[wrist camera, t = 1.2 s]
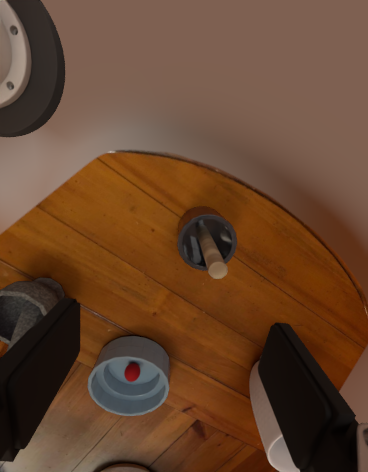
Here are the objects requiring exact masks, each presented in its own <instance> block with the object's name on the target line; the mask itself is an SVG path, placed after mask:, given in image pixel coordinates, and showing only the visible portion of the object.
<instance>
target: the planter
mask: <svg viewBox="0 0 368 472" xmlns="http://www.w3.org/2000/svg"><path fill="white" fill-rule="evenodd" d="M101 472H150V471H149V470H148V469H146V468H144V467H142V466H139V465H135V464H128V463H123V464H116V465H112V466H109V467H107V468H105V469H104V470H103V471H101Z"/></svg>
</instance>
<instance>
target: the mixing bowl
mask: <svg viewBox="0 0 368 472" xmlns="http://www.w3.org/2000/svg"><path fill="white" fill-rule="evenodd" d="M131 363H136V364H138V365H139V367H140V376H139V377H138V379H137V380H136V381H133V382H129V381H127V380H126V378H125V376H124V372H125V369H126V367H127V366H128V365H129V364H131ZM169 383H170V361H169V357H168V355H167V353H166V352H165V350H164V349H163V348H162V347H161V346H160V345H158V344H157V343H156V342H154V341H152V340H149V339H147V338H144V337H137V336H128V337H121V338H118V339H115V340H113V341H111V342H110V343H108V344H107V345H106V346H105V347H103V349H102V350H101V352H100V354H99V356H98V358H97V360H96V362H95V364H94V367H93V369H92V371H91V373H90V376H89V378H88V390H89V393H90V396H91V397H92V399H93V400H94V401H95V402H96V404H98V405H99V406H100V407H102V408H103V409H105V410H107V411H109V412H112V413H115V414H118V415H125V416H135V415H143V414H146V413H149V412H151V411H153V410H155V409H156V408H158V407H159V406H161V405H162V403H163V402H164V401H165V399H166V398H167V395H168V392H169Z"/></svg>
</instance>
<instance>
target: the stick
mask: <svg viewBox="0 0 368 472" xmlns="http://www.w3.org/2000/svg"><path fill="white" fill-rule="evenodd" d="M196 232H197V235H198V239H199V242H200V245H201V249H202V252H203V256H204V259H205V262H206V266H207V269H208V273H209V275H210V276H211V277H212V278H215V279H220V278H223V277H224V276H225V275H226V274H227V270H228V269H227V266H226V264H225V262H224V260H223V258H222V256H221V254H220V252H219V250H218V248H217V246H216V244H215V242H214V240H213V238H212V236H211V235H210V233H209V231H208V229H207V227H206V226H205V225H200V226H198V227H197V229H196Z"/></svg>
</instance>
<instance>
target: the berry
mask: <svg viewBox="0 0 368 472" xmlns="http://www.w3.org/2000/svg"><path fill="white" fill-rule="evenodd" d="M124 376H125V378H126V380H127V381H129V382H133V381H136V380H137V379H138V377H139V376H140V367H139V365H138V364H136V363H131V364H129V365H128V366H127V367H126V369H125V372H124Z"/></svg>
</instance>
